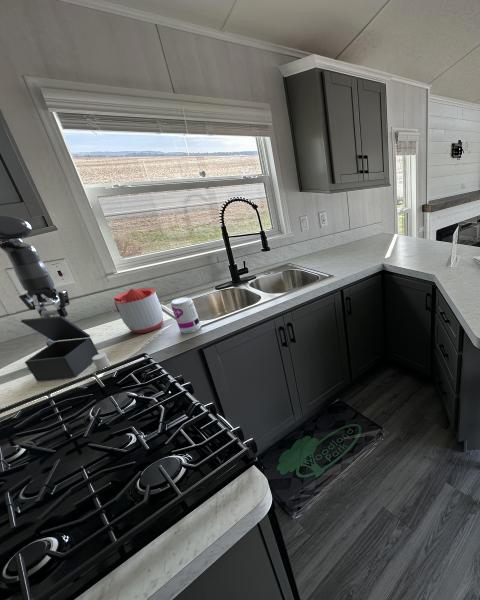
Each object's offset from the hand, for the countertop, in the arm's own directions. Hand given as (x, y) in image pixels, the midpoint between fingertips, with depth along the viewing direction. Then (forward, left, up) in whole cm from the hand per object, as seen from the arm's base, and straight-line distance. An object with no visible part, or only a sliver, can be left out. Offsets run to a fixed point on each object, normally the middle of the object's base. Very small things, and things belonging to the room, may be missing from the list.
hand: (55, 317), depth 121 cm
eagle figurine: (+5, +10, -17) cm, 21 cm away
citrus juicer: (+23, -13, -20) cm, 33 cm away
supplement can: (+17, -35, -20) cm, 44 cm away
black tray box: (-5, 0, -19) cm, 20 cm away
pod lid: (-2, 0, -4) cm, 5 cm away
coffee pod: (-7, -13, -20) cm, 24 cm away
